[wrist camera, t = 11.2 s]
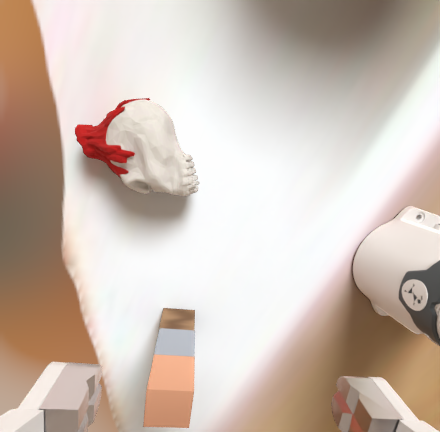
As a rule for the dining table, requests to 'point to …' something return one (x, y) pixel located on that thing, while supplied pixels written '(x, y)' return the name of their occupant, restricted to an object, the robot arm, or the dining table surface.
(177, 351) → the block
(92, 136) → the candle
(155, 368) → the terracotta block
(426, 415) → the dining table surface
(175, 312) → the tower base
